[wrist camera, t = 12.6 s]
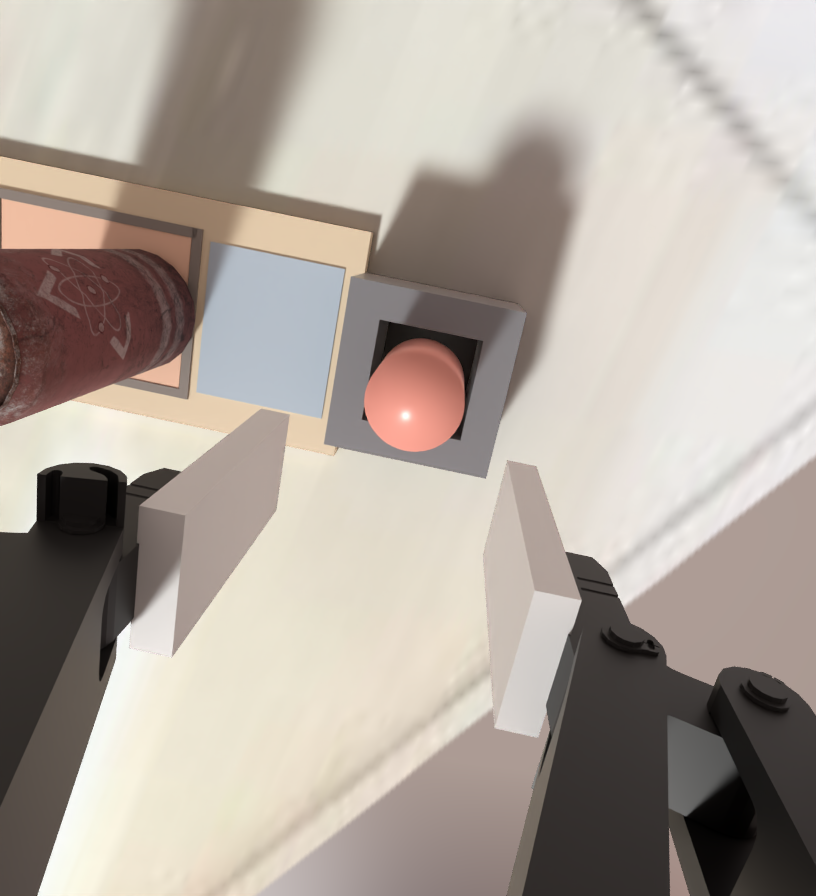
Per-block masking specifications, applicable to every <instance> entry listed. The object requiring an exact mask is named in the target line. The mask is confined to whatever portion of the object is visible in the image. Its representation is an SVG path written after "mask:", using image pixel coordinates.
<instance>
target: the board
mask: <svg viewBox="0 0 816 896" xmlns="http://www.w3.org/2000/svg"><path fill="white" fill-rule="evenodd" d="M372 238H373V233H372V232H368V231H363V230H358V229H353V228H348V227H343V226H338V225H333V224H329V223H324V222H319V221H314V220H309V219H304V218H299V217H294V216H290V215H285V214H280V213H275V212H270V211H265V210H260V209H255V208H251V207H246V206H241V205H236V204H231V203H226V202H221V201H216V200H212V199H207V198H202V197H197V196H192V195H187V194H182V193H177V192H173V191H168V190H163V189H158V188H153V187H148V186H143V185H138V184H134V183H129V182H124V181H119V180H114V179H109V178H104V177H99V176H95V175H90V174H85V173H80V172H75V171H70V170H65V169H60V168H55V167H51V166H46V165H41V164H36V163H31V162H26V161H21V160H16V159H12V158H7V157H2V156H0V249H141V250H144V251H147V252H150V253H153V254H156V255H158V256H160V257H161V258H162V259H164V260H165V261H167V262H168V263H169V264H171V265H172V266H173V267H174V268H175V269H176V270H177V272H178V273H179V274H180V275H181V277H182V278H183V279H184V281H185V282H186V284H187V286H188V289H189V291H190V294H191V296H192V299H193V301H194V312H195V324H194V328H193V333H192V337H191V339H190V341H189V342H188V344H187V346H186V347H185V349H184V351H183V352H182V353H181V354H180V355H179V356H177V357H176V358H175V359H173V360H172V361H171V362H170V363H167V364H165V365H162V366H159V367H157V368H154V369H152V370H149V371H146V372H144V373H141V374H138V375H136V376H133V377H130V378H128V379H125V380H122V381H120V382H117V383H114V384H112V385H109V386H106V387H104V388H101V389H99V390H96V391H93V392H91V393H88V394H85V395H83V396H80V397H77V398H75V399H72V401H77V402H81V403H86V404H91V405H95V406H100V407H105V408H110V409H114V410H119V411H124V412H128V413H133V414H138V415H143V416H147V417H152V418H157V419H162V420H166V421H171V422H176V423H180V424H185V425H190V426H195V427H199V428H204V429H209V430H213V431H218V432H223V433H228V434H230V433H231V432H232V431H234V430H235V429H236V428H237V427H239V426H240V425H241V424H242V423H244V422H245V421H246V420H247V419H249V418H250V417H251V416H252V415H254V414H255V413H256V412H257V411H259V410H260V409H266V410H271V411H276V412H280V413H285V414H290V417H289V424H288V431H287V438H286V445H285V446H289V447H294V448H298V449H303V450H308V451H313V452H317V453H322V454H327V455H332V456H334V455H335V453H336V451H337V447H334V446H330V445H325V444H324V440H325V434H326V427H327V421H328V415H329V409H330V403H331V397H332V390H333V384H334V378H335V372H336V366H337V359H338V353H339V347H340V341H341V335H342V329H343V322H344V316H345V310H346V304H347V298H348V291H349V285H350V279H351V276H355V275H359V274H363V273H367V268H368V262H369V256H370V250H371V244H372Z"/></svg>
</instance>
